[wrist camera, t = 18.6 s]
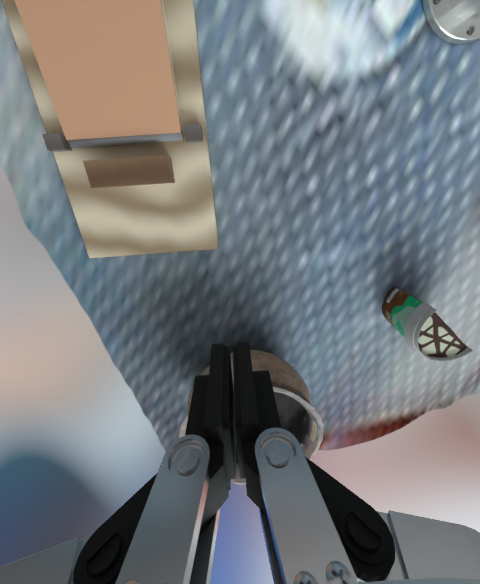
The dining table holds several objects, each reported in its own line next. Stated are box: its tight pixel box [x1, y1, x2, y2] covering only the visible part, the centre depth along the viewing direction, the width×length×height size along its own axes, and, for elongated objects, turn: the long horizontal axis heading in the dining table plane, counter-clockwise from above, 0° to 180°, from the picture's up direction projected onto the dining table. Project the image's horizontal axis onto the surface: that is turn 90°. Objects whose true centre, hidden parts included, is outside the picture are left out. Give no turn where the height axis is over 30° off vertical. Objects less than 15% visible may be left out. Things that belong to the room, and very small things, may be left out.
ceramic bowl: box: [179, 350, 323, 484], centre depth 42 cm, size 22×22×15 cm
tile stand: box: [2, 0, 219, 258], centre depth 29 cm, size 30×20×4 cm, turn 4°
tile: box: [15, 0, 183, 148], centre depth 26 cm, size 13×14×2 cm
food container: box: [382, 287, 473, 361], centre depth 40 cm, size 12×6×10 cm, turn 49°
